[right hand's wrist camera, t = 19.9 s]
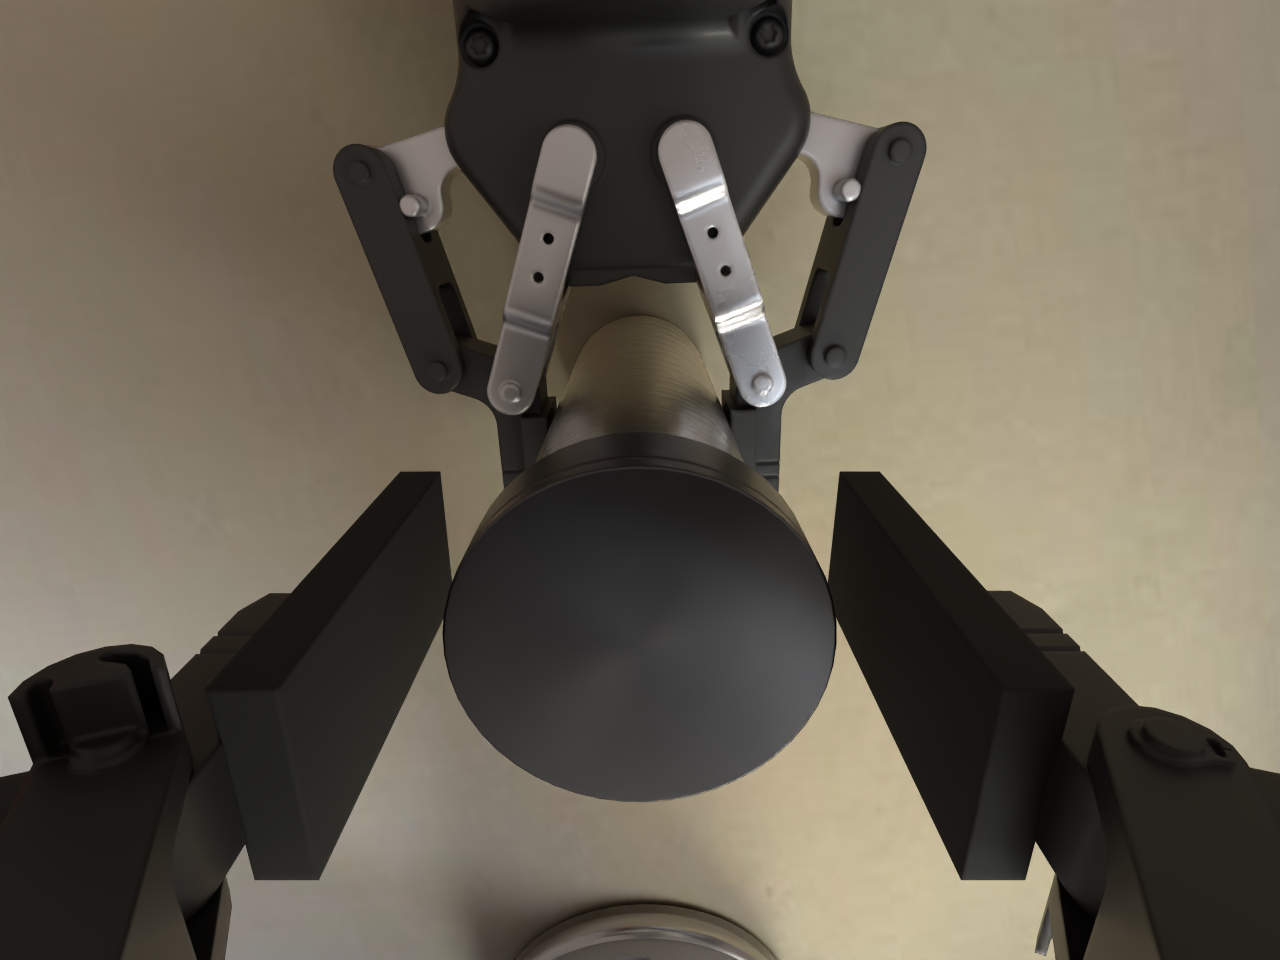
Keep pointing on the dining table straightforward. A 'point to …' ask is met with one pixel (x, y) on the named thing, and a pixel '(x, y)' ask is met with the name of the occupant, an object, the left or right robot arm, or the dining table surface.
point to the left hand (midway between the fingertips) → (641, 524)
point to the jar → (639, 388)
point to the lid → (639, 620)
